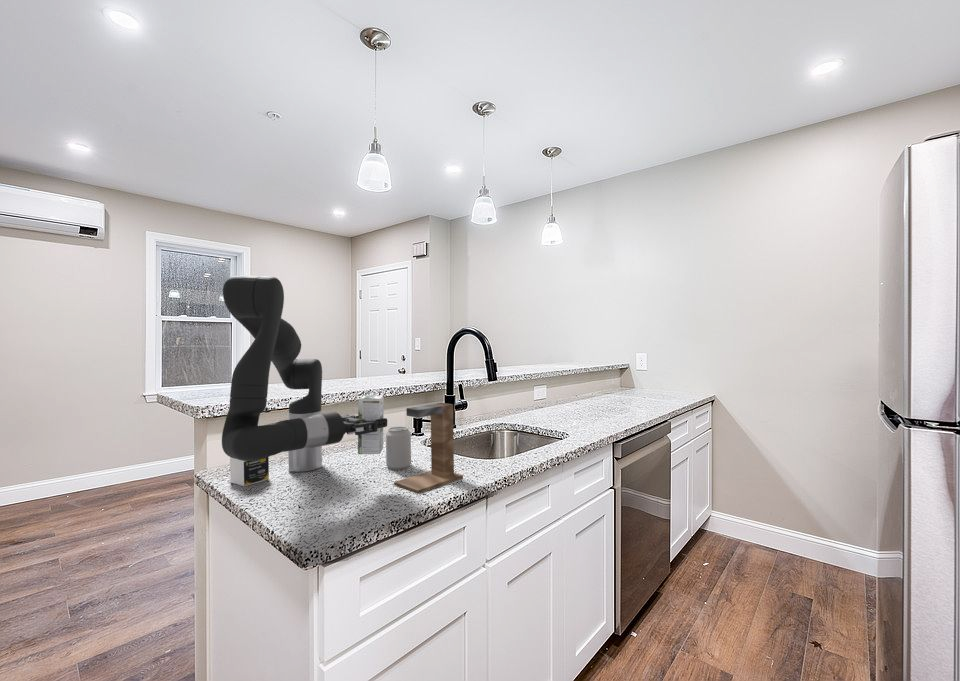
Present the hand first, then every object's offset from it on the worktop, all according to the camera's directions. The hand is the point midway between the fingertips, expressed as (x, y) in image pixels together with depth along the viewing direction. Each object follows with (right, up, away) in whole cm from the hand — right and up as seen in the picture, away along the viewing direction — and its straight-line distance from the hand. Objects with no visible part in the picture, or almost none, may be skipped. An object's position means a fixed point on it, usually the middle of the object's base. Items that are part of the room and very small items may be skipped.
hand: (377, 420), depth 115 cm
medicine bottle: (-37, -18, +5) cm, 41 cm away
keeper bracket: (+13, -17, +3) cm, 22 cm away
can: (+3, -18, +17) cm, 24 cm away
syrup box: (-1, -8, -1) cm, 8 cm away
